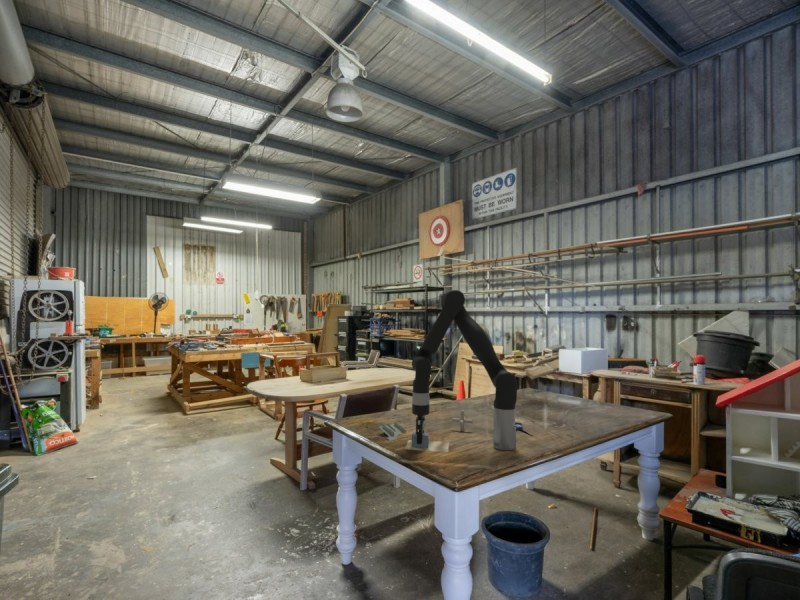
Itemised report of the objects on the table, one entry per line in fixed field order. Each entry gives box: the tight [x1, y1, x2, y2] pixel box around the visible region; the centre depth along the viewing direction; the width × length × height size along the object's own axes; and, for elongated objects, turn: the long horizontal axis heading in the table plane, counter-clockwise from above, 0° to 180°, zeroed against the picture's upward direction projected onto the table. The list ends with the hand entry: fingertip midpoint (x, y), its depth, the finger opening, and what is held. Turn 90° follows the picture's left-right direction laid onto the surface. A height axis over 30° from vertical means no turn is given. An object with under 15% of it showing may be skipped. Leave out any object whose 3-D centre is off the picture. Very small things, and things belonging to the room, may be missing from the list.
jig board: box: [404, 439, 450, 453], centre depth 171 cm, size 18×13×4 cm
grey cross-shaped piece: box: [451, 410, 474, 432], centre depth 199 cm, size 10×10×10 cm
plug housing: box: [411, 431, 430, 448], centre depth 171 cm, size 7×4×5 cm, turn 82°
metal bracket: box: [378, 421, 407, 441], centre depth 190 cm, size 14×6×15 cm
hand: (420, 440), depth 171 cm, fingers open, 8 cm apart
